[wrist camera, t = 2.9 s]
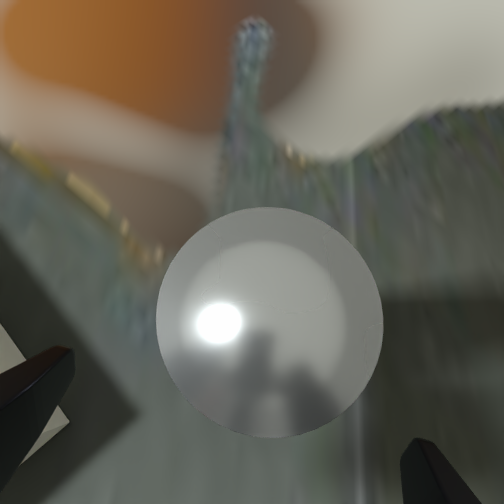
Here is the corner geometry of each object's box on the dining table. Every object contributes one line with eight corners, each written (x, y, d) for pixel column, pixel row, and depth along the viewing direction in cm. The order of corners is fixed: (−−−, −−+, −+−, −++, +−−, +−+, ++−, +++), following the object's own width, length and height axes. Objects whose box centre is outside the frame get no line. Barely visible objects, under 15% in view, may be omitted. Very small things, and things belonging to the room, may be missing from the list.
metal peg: (296, 345, 18) (428, 319, 6) (242, 398, 17) (265, 499, 5) (247, 290, 19) (275, 169, 7) (193, 339, 18) (108, 302, 6)
